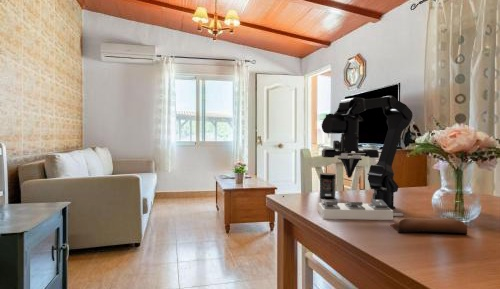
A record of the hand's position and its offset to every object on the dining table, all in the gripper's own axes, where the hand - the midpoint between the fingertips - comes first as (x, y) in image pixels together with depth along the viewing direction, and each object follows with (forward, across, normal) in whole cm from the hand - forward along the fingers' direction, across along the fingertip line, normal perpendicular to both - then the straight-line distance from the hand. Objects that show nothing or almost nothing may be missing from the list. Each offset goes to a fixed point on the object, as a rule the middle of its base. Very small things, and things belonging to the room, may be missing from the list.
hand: (349, 177), depth 109 cm
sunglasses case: (+13, -16, +21) cm, 29 cm away
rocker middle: (+8, 0, +7) cm, 10 cm away
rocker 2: (+8, -8, +7) cm, 13 cm away
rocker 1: (+8, +8, +7) cm, 13 cm away
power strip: (+12, -2, +6) cm, 14 cm away
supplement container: (+12, +3, -24) cm, 27 cm away
